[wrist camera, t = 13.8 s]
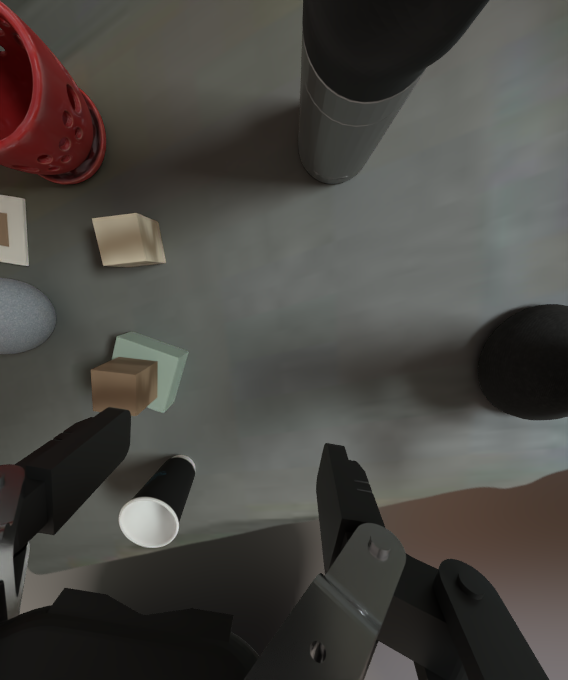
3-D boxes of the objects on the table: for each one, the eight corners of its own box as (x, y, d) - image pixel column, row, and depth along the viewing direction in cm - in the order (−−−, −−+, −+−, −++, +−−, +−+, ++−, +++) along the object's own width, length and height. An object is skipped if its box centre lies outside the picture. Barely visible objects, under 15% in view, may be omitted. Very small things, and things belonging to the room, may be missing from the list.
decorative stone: (-6, 295, 41) (-99, 301, 31) (48, 265, 40) (-32, 262, 30) (34, 354, 43) (-42, 377, 33) (86, 327, 41) (23, 343, 32)
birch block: (120, 226, 38) (91, 218, 33) (158, 222, 38) (136, 213, 32) (129, 267, 39) (103, 265, 34) (166, 263, 39) (146, 260, 34)
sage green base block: (133, 330, 42) (116, 336, 38) (189, 350, 42) (179, 358, 38) (121, 382, 44) (104, 393, 40) (175, 401, 44) (163, 413, 40)
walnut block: (118, 356, 39) (90, 369, 33) (157, 361, 38) (135, 374, 33) (120, 392, 40) (93, 410, 34) (157, 397, 40) (136, 416, 34)
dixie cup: (164, 440, 45) (125, 490, 35) (210, 455, 46) (185, 510, 35) (153, 478, 47) (112, 537, 36) (197, 492, 48) (169, 555, 37)
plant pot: (112, 205, 37) (29, 172, 26) (17, 173, 37) (-111, 126, 25) (129, 97, 35) (45, 6, 23) (26, 62, 34) (-114, -50, 22)
